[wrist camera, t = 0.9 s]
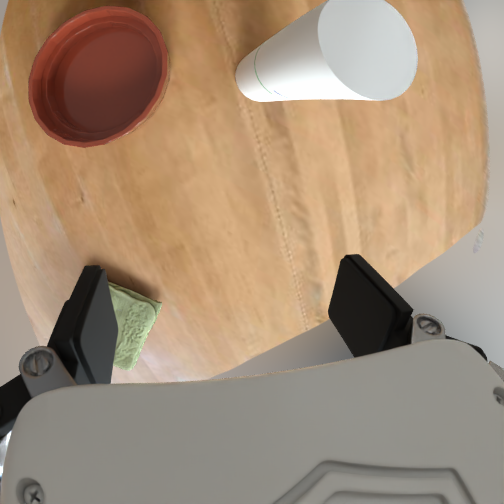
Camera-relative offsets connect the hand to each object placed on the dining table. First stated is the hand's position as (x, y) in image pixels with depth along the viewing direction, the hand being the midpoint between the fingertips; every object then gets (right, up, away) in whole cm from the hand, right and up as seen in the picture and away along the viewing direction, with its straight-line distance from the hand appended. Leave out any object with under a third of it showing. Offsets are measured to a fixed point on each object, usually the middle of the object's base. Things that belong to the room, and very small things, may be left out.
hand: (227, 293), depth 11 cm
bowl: (-18, +24, +18) cm, 35 cm away
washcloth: (-23, -10, +35) cm, 43 cm away
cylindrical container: (+2, +25, +23) cm, 34 cm away
